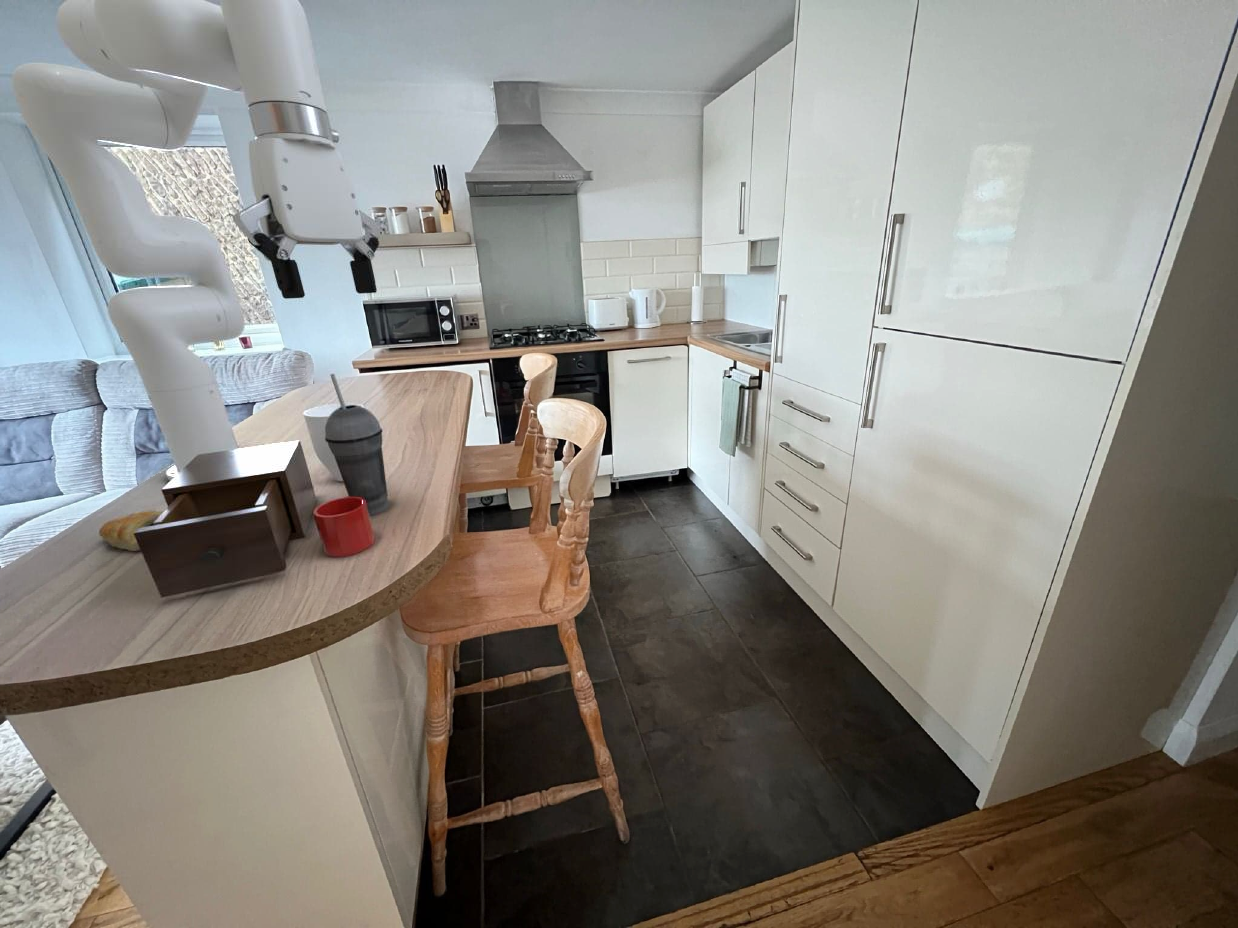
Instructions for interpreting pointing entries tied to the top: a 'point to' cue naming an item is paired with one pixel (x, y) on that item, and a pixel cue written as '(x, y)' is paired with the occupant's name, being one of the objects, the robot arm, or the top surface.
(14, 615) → the top surface
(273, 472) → the cabinet
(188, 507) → the drawer
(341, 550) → the red cup
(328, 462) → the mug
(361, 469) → the beverage cup
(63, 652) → the top surface
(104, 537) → the pastry
